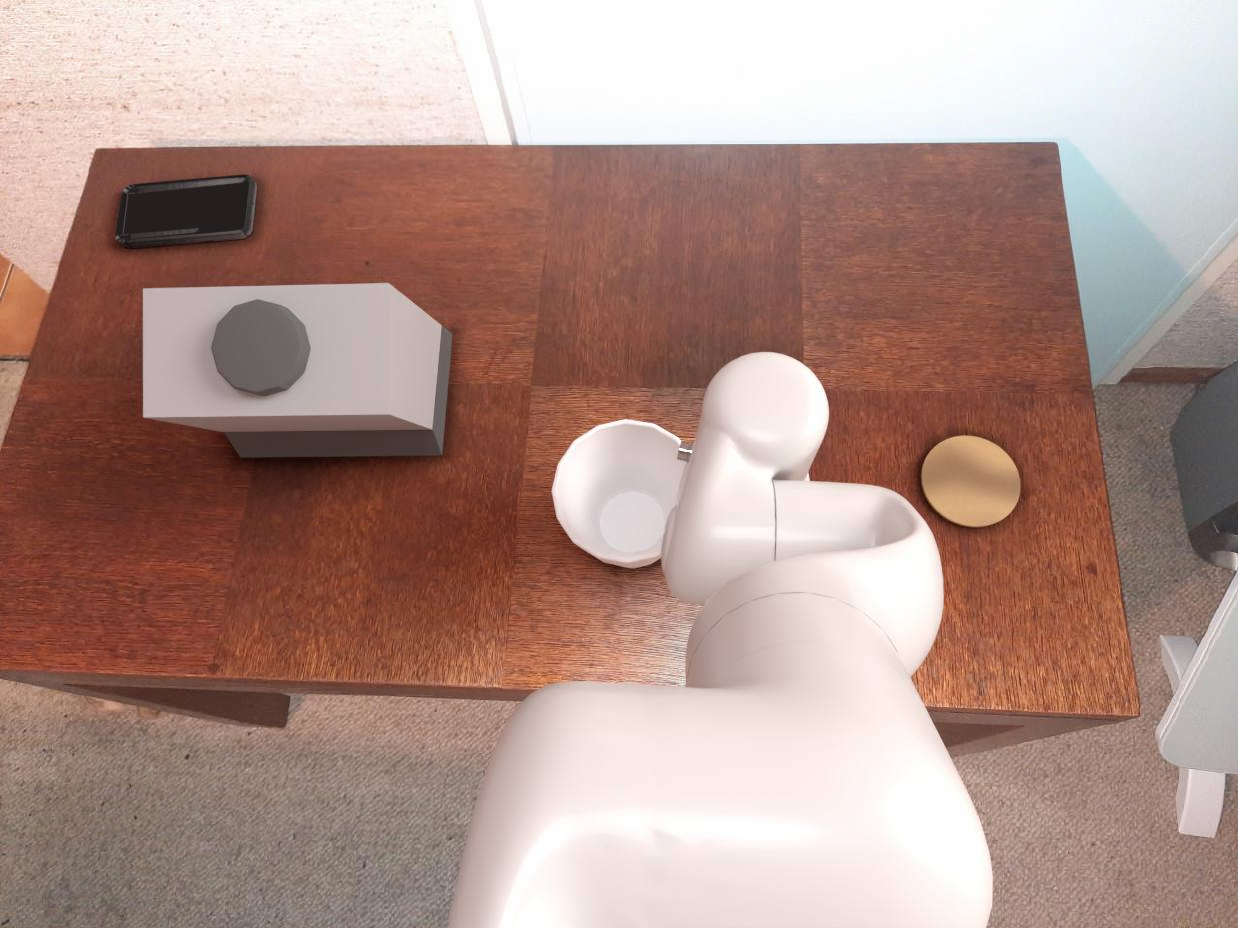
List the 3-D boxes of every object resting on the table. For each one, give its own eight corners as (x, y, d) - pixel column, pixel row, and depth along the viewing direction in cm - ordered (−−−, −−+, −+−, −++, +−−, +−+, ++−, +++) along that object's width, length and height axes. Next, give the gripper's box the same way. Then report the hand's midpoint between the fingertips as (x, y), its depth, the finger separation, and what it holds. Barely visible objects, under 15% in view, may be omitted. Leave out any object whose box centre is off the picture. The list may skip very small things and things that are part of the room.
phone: (123, 185, 96) (253, 173, 96) (129, 191, 97) (258, 179, 97) (113, 244, 94) (247, 233, 93) (119, 250, 95) (252, 239, 94)
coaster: (1032, 517, 79) (1034, 516, 78) (937, 536, 79) (938, 534, 78) (1000, 428, 82) (1002, 427, 81) (908, 446, 82) (909, 445, 81)
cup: (717, 488, 82) (723, 447, 71) (670, 609, 78) (670, 585, 67) (597, 445, 84) (586, 399, 73) (546, 561, 80) (527, 530, 70)
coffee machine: (452, 334, 89) (392, 215, 70) (440, 478, 84) (371, 391, 64) (260, 337, 90) (150, 222, 71) (236, 479, 85) (110, 395, 66)
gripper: (634, 494, 61) (643, 553, 78) (845, 544, 59) (806, 594, 76) (660, 399, 63) (663, 478, 80) (864, 445, 61) (822, 515, 78)
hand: (733, 534), depth 78 cm, fingers closed
